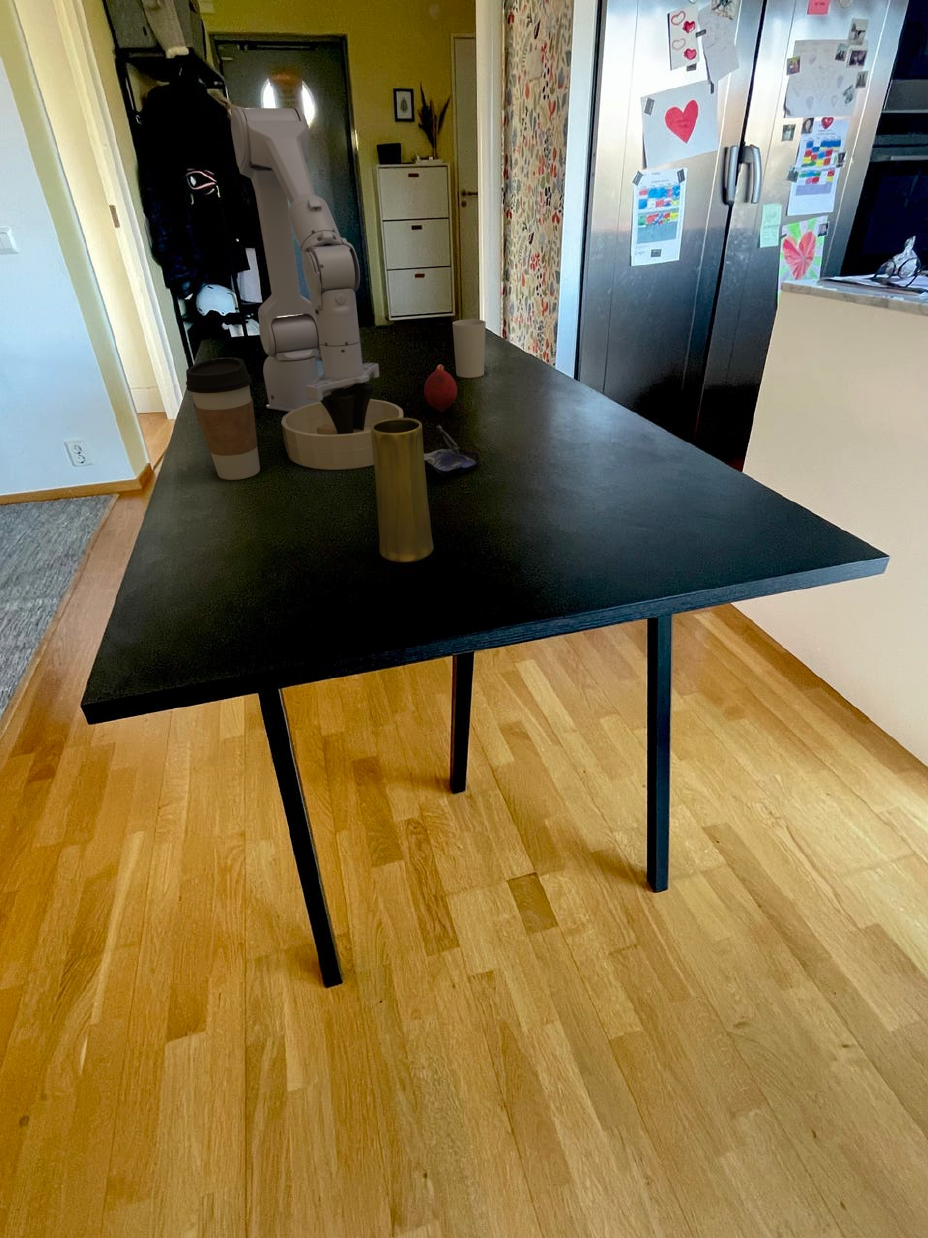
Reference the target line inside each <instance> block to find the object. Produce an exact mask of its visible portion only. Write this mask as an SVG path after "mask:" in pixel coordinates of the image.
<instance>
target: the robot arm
mask: <svg viewBox="0 0 928 1238" xmlns="http://www.w3.org/2000/svg"><path fill="white" fill-rule="evenodd" d="M230 129H231V136H232V143H233V148H234V153H235V159H236V165H237V167H238V169H239V170H238V171H239V174H240V175H242V176H245V177H247V178H249V179H250V180H251V183H252V186H253V189H254V193H255V198H256V204H257V211H258V217H259V222H260V223H259V224H260V229H261V235H262V241H263V248H264V254H265V260H266V266H267V273H268V277H269V278H268V279H269V284H270V292H271V293H270V295H269V297H268V298H267V299H266V300H265V301H264V302H263V303H262V304H261V305H260V306H259V307H258V312H257V315H258V330H259V331H258V332H259V337H260V342H261V345H262V348H263V350H264V353H265V354H266V355H268V356H267V357H266V359H264V363H263V368H262V369H263V370H262V373H263V378H264V384H265V390H266V395H267V400H268V404H266V405H265V408H266V409H270V410H275V411H276V410H277V411H281V412H287V413H289V412H290V411H292V410H295V409H297V408H300V407H302V406H305V405H309V404H313V403H317V402H321V403H322V404H323V405H324V407H325V408H326V410H327V411H328V413H329V415H330V417H331V419H332V421H333V423H334V425H335V428H336V430H337V433H338V434H352V433H353V429H358V430H364V425H365V418H366V412H367V407H368V404H369V401H370V399H372V396H373V394H374V392H375V389H374V385H373V384H372V383H367V382H368V381H370V379H372V378H373V379H377V378H379V377H380V370H379V369H380V368H379V363H376V362H365V363H363V356H362V347H361V338H360V328H359V320H358V319H359V318H358V310H357V300H356V299H357V298H356V291H358V290H359V287H360V282H361V272H360V271H361V269H360V264H359V259H358V256H357V253H356V250H355V247H354V246H353V244H351V243H350V242H348V240H347V238H346V237H341V234H340V232H339V230H338V227H337V225H336V222H335V220H334V217H333V215H332V212H331V210H330V208H329V205H328V203H327V202H326V201H325V199H324V198H322V197H320V196H319V195H316V192H315V189H314V185H313V182H312V178H311V176H310V172H309V169H308V165H307V163H308V159H309V157H308V156H309V153H310V145H311V143H310V142H311V141H310V130H309V126H308V122H307V119H306V116H305V114H304V112H303V111H302V110H301V109H300V108H299V107H298V106H293V107H291V108H289V107H288V108H287V107H285V108H284V107H281V108H280V107H271V108H270V107H241V106H234V108H233V110H232V112H231V114H230ZM289 204H290V206H289ZM294 238H295V240H296V243H297V245H298V247H299V248H298V249H299V250H300V253H301V255H302V256H301V257H302V272H303V277H304V282H305V284H306V287H307V292H308V295H309V299H308V298H306V297H305V296H304V295H302V293H301V286H300V279H299V272H298V267H297V259H296V251H295V243H294ZM319 351H321V355H320V358H321V364H322V372H323V374H321V375H320V376H319V370H318V361H317V356H319Z"/></svg>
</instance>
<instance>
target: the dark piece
mask: <svg viewBox="0 0 928 1238" xmlns="http://www.w3.org/2000/svg"><path fill="white" fill-rule="evenodd" d="M430 428H433V425H432V426H430ZM435 428H436V430H437V432H439V434H442V438H443V439H444V441H445V443H446V445H447V446H448V447H449V448H448V449H445V448H444V449H443V448H441V449H438V450H434V451H432V452H429V453H424V463H425V470H429V471H430V470H433V471H435V472H436V473H437V474H439V475H440V476H441V477H442V478H444V477H445V476H447V474H449V473H451V472H452V471H455V470H457V471H458V472H459V473H460V475H462V474H464V473H465V472H468V471H469V472H470V471H471V470H473V469H474V468H475V467H476V466H477V465H479V464H481V460H480V456H479V453H478V452H475V451H473V452H470V451H468V450H467V449H462V448H461V447H460V446H459V445H458V443H457V442H455V441H454V439H453V438H452V437H451V436H450V434H448V433H447V432H446V431H445V430H444V428H442V426H441V425H440V423H438V424H437V425H436V426H435ZM453 477H454V478H455V477H456V475H455V476H453ZM441 482H442V483H443V482H444V480H441Z"/></svg>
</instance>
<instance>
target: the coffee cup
mask: <svg viewBox="0 0 928 1238" xmlns="http://www.w3.org/2000/svg"><path fill="white" fill-rule="evenodd" d="M185 374H186V375H185V377H186V381H185V386H186V390H187V391H189V392H190V393H191V396H192V400H193V402H194V403H193V408H194V410H195V413H196V417H197V418H198V422H199V425H200V427H201V430H202V433H203V436H204V439H205V442H206V444H207V447H208V450H209V452H210V455H211V458H212V461H213V464H214V467H215V470H216V473H217V476H218V477H219V478H220V479H222V480H228V481H232V480H233V481H236V480H244V479H248V478H252V477H254V476H256V475H257V474H259V473H260V471H261V465H260V458H259V450H258V440H257V439H258V438H257V430H256V419H255V409H254V400H253V397H252V396H251V389H250V387H251V386H250V385H252V382H253V381H252V379H251V375H250V373H248V369H247V366H246V363H245V361H244V359H242V358H238V357H233V356H232V357H231V356H230V357H229V356H227V357H214V358H210V359H205V360H203V361H200V362H197V363H196V364H194V365H193V364H192V365H191V366H189V367H188V368H187V369H186V370H185Z"/></svg>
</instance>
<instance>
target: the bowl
mask: <svg viewBox="0 0 928 1238" xmlns="http://www.w3.org/2000/svg"><path fill="white" fill-rule="evenodd" d="M403 410H404V409H402V407H400V406H399V405H398V404H395V403H392V402H389V401H386V400H379V399H374V398H373V399H372V398H370V401H369V404H368V407H367V412H366V418H365V425H364V432H358V433H352V434H336V435H323V434H317V427H320V426H322V425H324V424H329V425H334V423H333V421H332V419H331V417H330V415H329V413H328V411H327V410H326V408H325V407H324V405H323V404H322V403H321V402H317V403H313V404H309V405H305V406H302V407H300V408H297V409H295V410H292V411H290V412H287V413H286V414H285V415H283V417H282V420H281V422H280V424H281V430H282V435H283V441H284V447H285V451H286V453H287V457H288V458H289V460H290V461H292V462H293V463H295V464H297V465H299V466H302V467H306V468H311V469H318V470H328V471H329V470H331V471H334V470H335V471H336V470H337V471H339V470H352V469H360V468H366V467H371V466H374V458H373V447H372V438H371V425H372V424H373V423H375V422H377V421H380V420H383V419H388V418H405V417H404V411H403Z"/></svg>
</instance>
